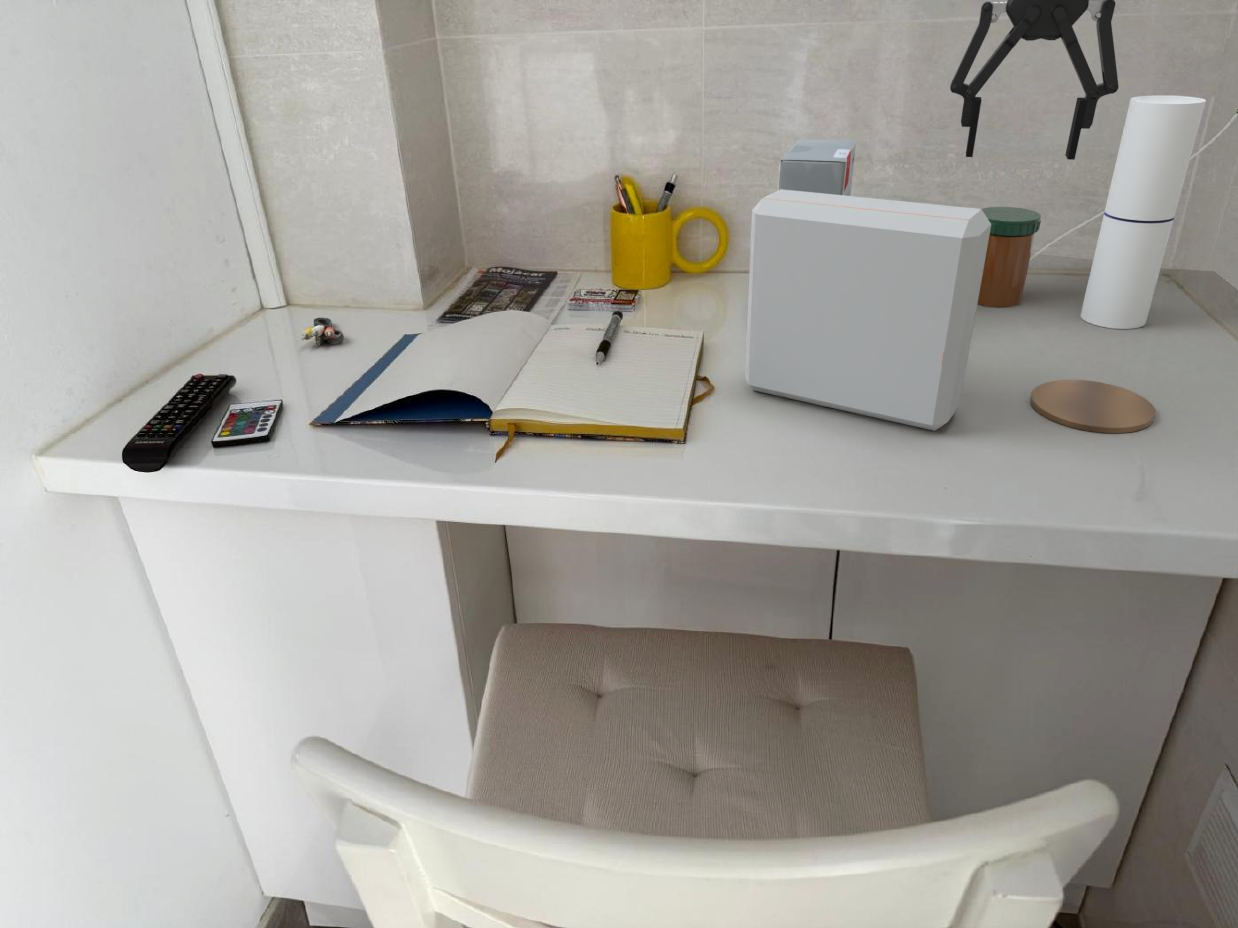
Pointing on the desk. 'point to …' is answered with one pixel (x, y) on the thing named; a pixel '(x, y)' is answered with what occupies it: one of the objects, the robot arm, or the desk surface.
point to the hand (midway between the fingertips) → (1018, 156)
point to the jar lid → (1012, 221)
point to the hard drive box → (818, 166)
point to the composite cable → (323, 332)
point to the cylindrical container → (1141, 208)
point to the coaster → (1093, 406)
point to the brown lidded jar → (1005, 270)
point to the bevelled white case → (864, 303)
